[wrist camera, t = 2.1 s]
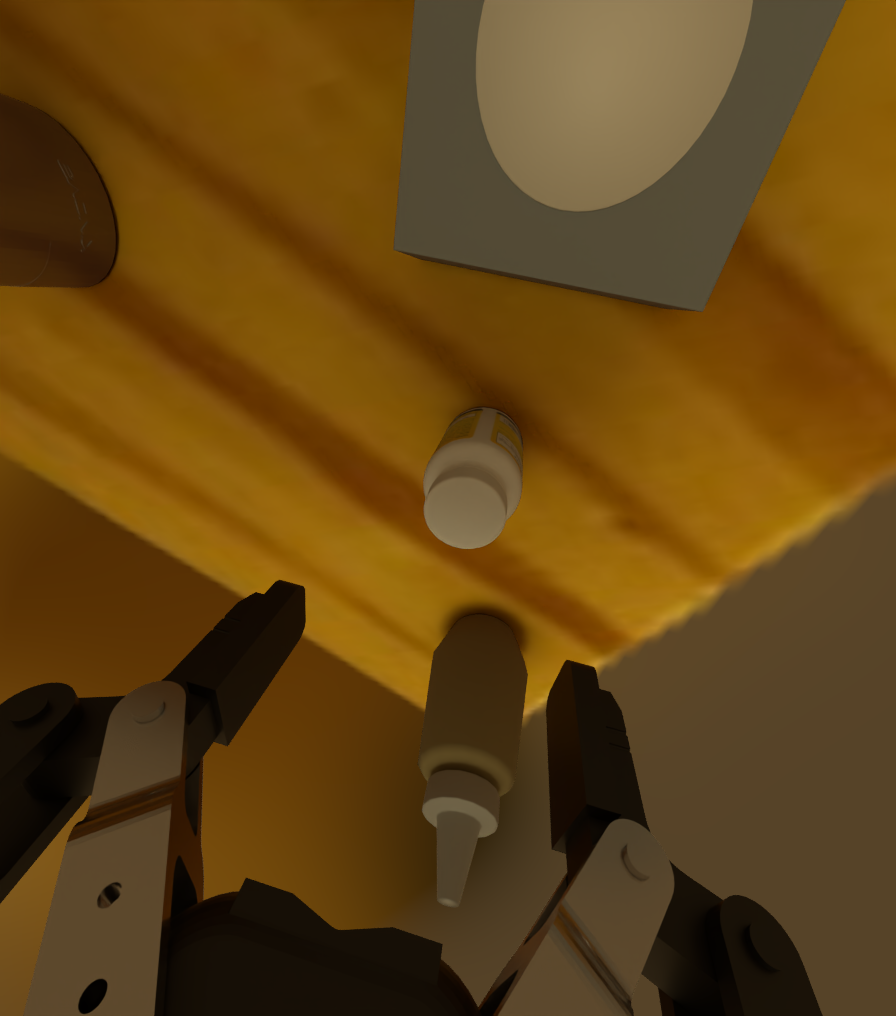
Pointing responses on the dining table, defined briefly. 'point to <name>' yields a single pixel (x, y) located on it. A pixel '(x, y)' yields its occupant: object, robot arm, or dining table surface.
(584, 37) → the charcoal stand
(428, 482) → the supplement bottle
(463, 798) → the squeeze bottle
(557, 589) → the dining table surface
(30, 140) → the robot arm
